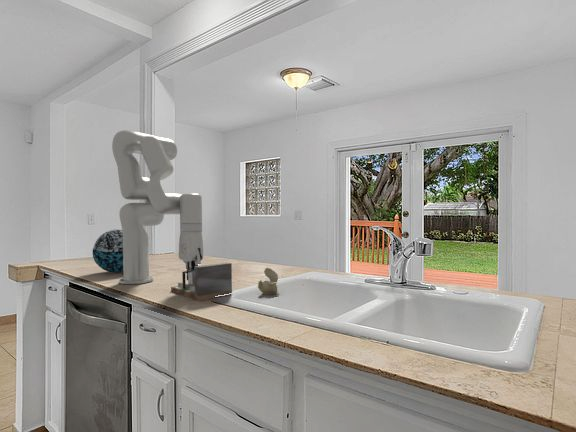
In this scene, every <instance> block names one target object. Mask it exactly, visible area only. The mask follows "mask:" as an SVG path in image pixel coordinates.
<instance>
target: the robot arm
mask: <svg viewBox="0 0 576 432" xmlns="http://www.w3.org/2000/svg"><path fill="white" fill-rule="evenodd" d="M111 143H112V144H111V145H112V146H111V150H112V154H113V156H114V157H113V158H114V160H115V163H116V167H117V174H118V182H119V188H120V193H121V196H122V198H124V199H125V200H131V201H144V202H128V203H125V204H123V205H122V206H121V207H120V210H119V212H118V213H119V220H120V225H121V230H122V234H123V272H122V273H123V276H122V277H123V278H120V279H119V280H118V282H119V284H121V285H140V284H146V283H150V282H151V283H152V281H154V277H153V276H150V262H149V261H150V259H149V258H150V253H149V249H150V247H149V236H148V233H147V231H146V229H145V228H144V227H155V226H158V225H161V224H162V222H163V220H164V218H165V217H164V216H165V215H179V229H180V230H179V231H180V232H179V242H178V258H179V260H180V261H183V263H185V269H186V271H188V270H194V266H201V264H202V263H201V261H203V260H204V241H203V204H202V203H203V200H202V195H201V194H199V193H189V192H188V193H173V192H172V193H170V192H169V193H168V192H167V193H166V192H164V189H163V187H162V184H161V181H163V180H166V179H167V178H169V177H170V176H171V175H172V174H173V172H174V166H173V164H172V160H175V158H176V157H177V154H178V148H177V144H176V142H175V141H173V140H172V139H170V138H166V137H162V136H157V135H153V134H148V133H144V132H139V131H135V130H126V129H125V130H120V131H118V132H116V134H115V135H114V136H113V139H112V142H111ZM133 153H134V154H139V155H142V156H143V160H144V161H145V164H146V166H147V169H148V170H149V171H148V172H149V174H150V176H149V177H144V176H143V175H142V172H141V171H142V169H141V165H140V163H139V161H138V160H137V158H136V157H135V156H134V154H133ZM186 280H187V281H188V273H186Z"/></svg>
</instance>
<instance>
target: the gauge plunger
mask: <svg viewBox="0 0 576 432" xmlns="http://www.w3.org/2000/svg"><path fill="white" fill-rule="evenodd" d="M187 273H188V280H187V284H188V285H191V286H195V273H194V270H188V271H187V270H186V271H185V270H184V271H182V273H181V274H182V276H181V277H182V280H181V281H182V283H183V289H185V288H186V286H185V284H186V274H187Z"/></svg>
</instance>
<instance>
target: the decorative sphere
mask: <svg viewBox="0 0 576 432" xmlns="http://www.w3.org/2000/svg"><path fill="white" fill-rule="evenodd" d="M92 258H93V261H94V262H95V264H96V265H97V266H98V267H99V268H100V269H102V270H104V271H106V272H109V273H115V274H119V273H123V234H122V229H111V230H109V231H106V232H104V233H102V234H100V236H99V237H98V238H97V239H96V241H95V242H94V245H93V248H92Z"/></svg>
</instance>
